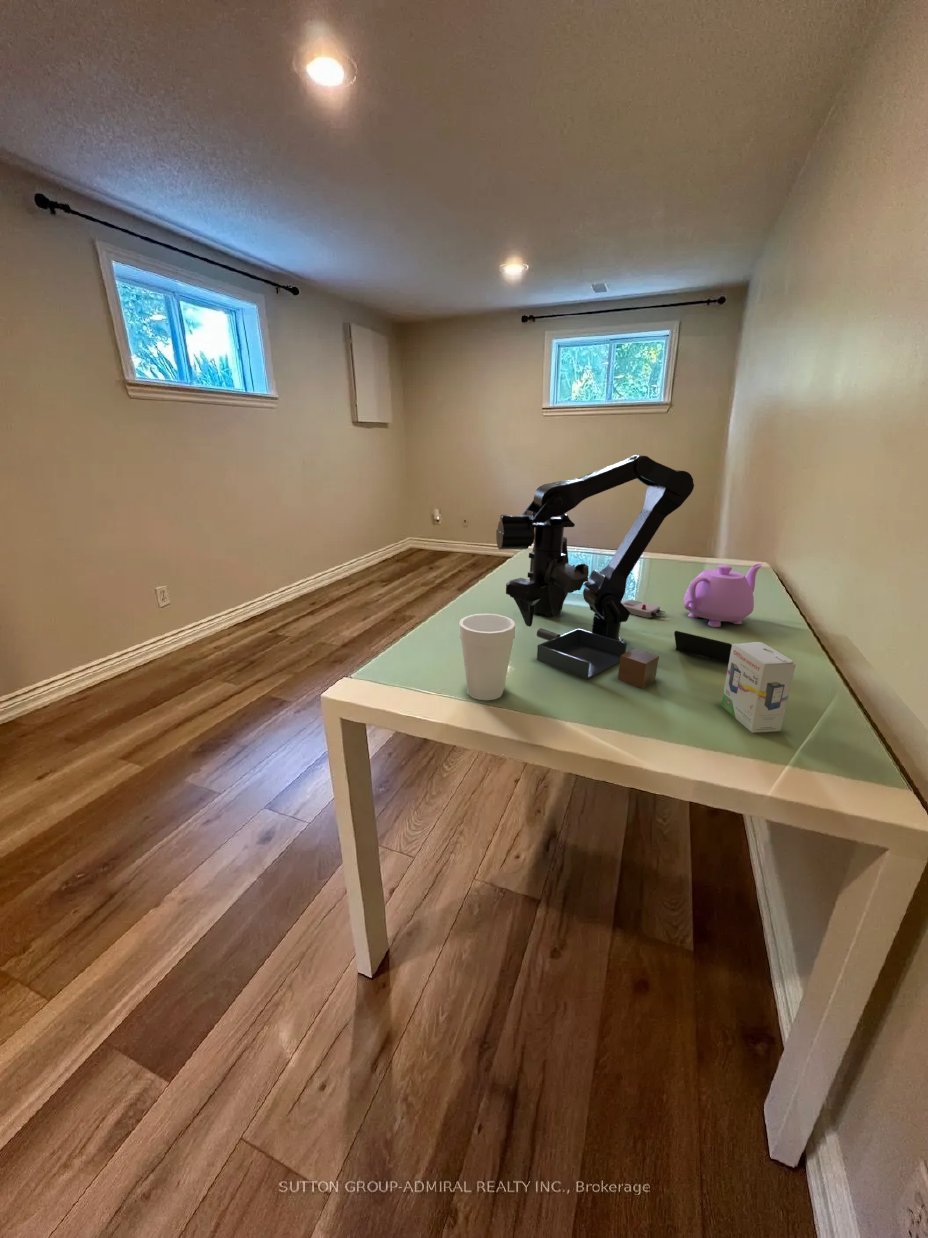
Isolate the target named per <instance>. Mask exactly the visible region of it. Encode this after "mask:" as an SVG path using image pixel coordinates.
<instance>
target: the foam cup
mask: <svg viewBox="0 0 928 1238" xmlns="http://www.w3.org/2000/svg"><path fill="white" fill-rule="evenodd" d="M458 630H459V631H458V634H459V636H458V637H459V639H460V642H461V650H462V657H463V666H464V674H465V681H466V682H465V683H466V689H467V694H468V696H470V697H471V698H473V699H476V700H479V701H493V700H497V699H499V698H501V697H502V696H503V694H504V689H505V686H506V680H507V674H508V670H509V664H510V659H511V654H512V649H513V643H514V640H515V638H516V622H515V620H514V619H512V618H510V617H508V616H505V615H503V614H502V615H501V614H496V613H475V614H470V615H466V616H464V617H462V618H461V619H460V620H459V624H458Z"/></svg>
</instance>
